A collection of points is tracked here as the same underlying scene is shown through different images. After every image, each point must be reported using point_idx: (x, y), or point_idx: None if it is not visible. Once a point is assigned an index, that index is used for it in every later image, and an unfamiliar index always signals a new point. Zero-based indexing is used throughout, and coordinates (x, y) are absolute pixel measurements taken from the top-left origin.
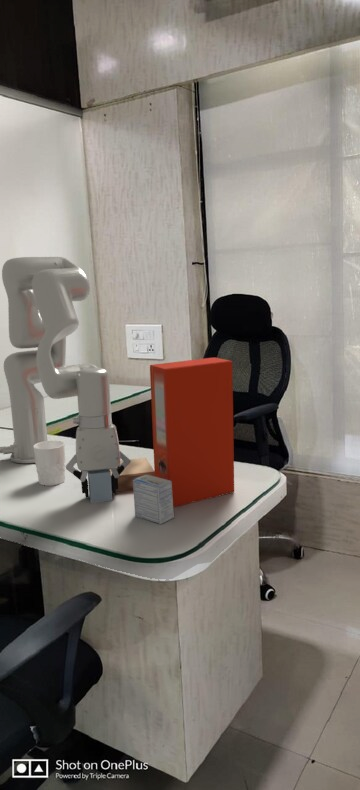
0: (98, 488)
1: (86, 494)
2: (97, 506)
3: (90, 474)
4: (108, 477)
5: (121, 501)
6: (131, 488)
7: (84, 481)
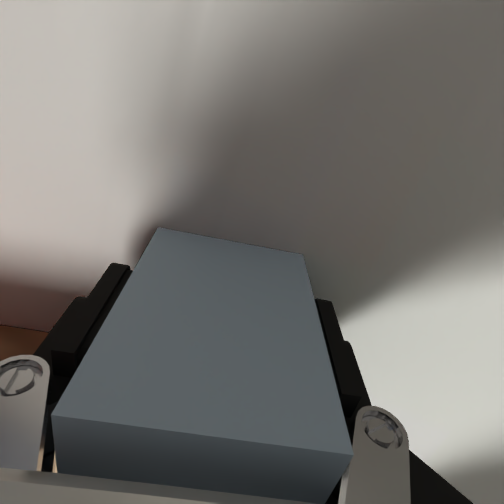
0: (246, 303)
1: (330, 312)
2: (292, 164)
3: (336, 449)
4: (116, 359)
5: (98, 167)
6: (2, 330)
7: (351, 412)
